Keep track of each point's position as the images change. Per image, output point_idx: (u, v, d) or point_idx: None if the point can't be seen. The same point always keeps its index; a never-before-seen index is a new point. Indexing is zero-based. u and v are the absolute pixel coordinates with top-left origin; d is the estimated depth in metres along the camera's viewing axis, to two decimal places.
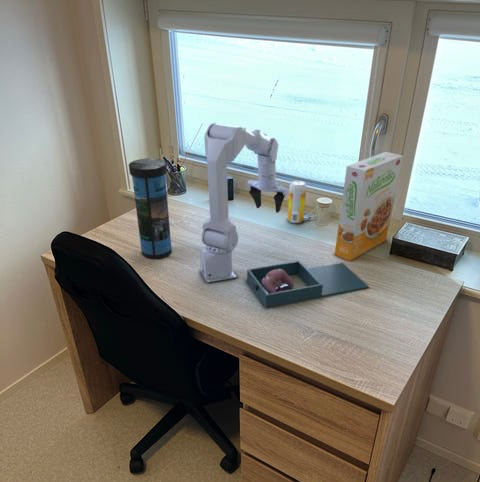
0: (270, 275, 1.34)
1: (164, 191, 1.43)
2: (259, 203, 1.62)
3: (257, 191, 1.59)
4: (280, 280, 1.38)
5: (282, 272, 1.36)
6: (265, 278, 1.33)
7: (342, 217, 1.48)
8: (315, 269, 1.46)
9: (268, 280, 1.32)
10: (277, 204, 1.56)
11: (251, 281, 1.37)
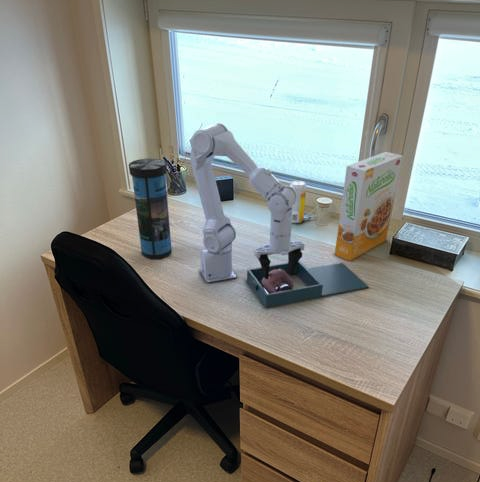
0: (270, 275, 1.34)
1: (164, 191, 1.43)
2: (289, 268, 1.34)
3: (290, 252, 1.32)
4: (280, 280, 1.38)
5: (282, 272, 1.36)
6: None
7: (342, 217, 1.48)
8: (315, 269, 1.46)
9: (268, 280, 1.32)
10: None
11: (251, 281, 1.37)
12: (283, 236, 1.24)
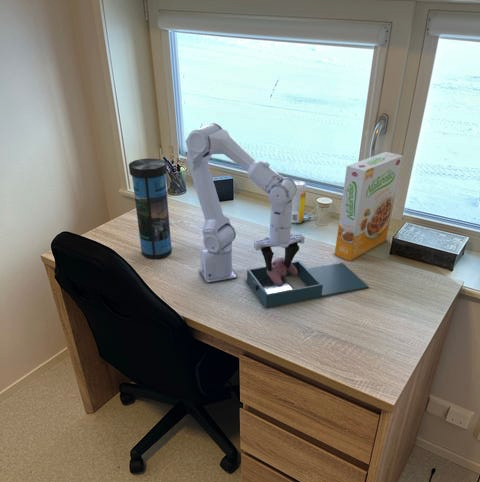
0: (275, 264, 1.33)
1: (164, 191, 1.43)
2: (286, 262, 1.33)
3: None
4: (284, 269, 1.37)
5: None
6: None
7: (342, 217, 1.48)
8: (315, 269, 1.46)
9: (273, 268, 1.32)
10: None
11: (251, 281, 1.37)
12: (283, 228, 1.23)
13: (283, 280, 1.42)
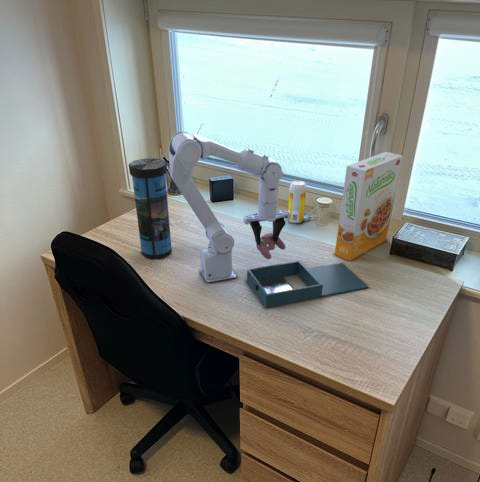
0: (264, 238, 1.44)
1: (164, 191, 1.43)
2: (274, 236, 1.44)
3: (274, 221, 1.42)
4: (273, 243, 1.48)
5: None
6: None
7: (342, 217, 1.48)
8: (315, 269, 1.46)
9: (262, 242, 1.43)
10: None
11: (251, 281, 1.37)
12: (270, 203, 1.34)
13: (283, 280, 1.42)
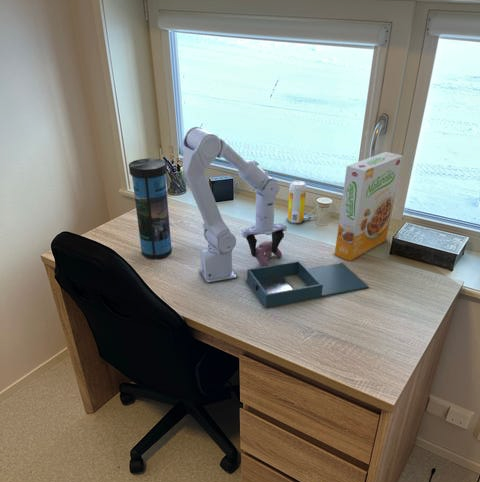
0: (261, 246, 1.49)
1: (164, 191, 1.43)
2: (273, 248, 1.50)
3: (273, 233, 1.48)
4: (270, 251, 1.53)
5: (271, 244, 1.52)
6: (257, 249, 1.48)
7: (342, 217, 1.48)
8: (315, 269, 1.46)
9: (259, 250, 1.48)
10: None
11: (251, 281, 1.37)
12: (267, 218, 1.40)
13: (283, 280, 1.42)
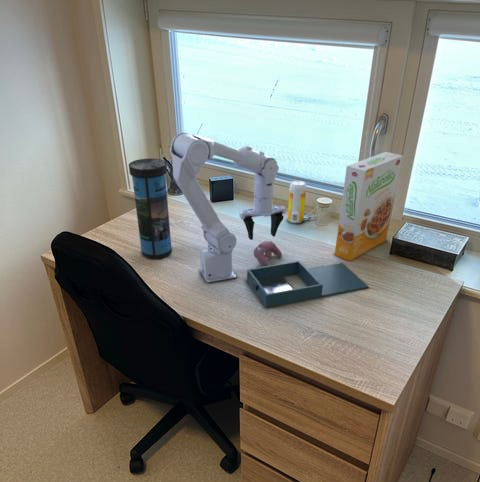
0: (261, 246, 1.49)
1: (164, 191, 1.43)
2: (272, 231, 1.47)
3: (272, 216, 1.45)
4: (270, 251, 1.53)
5: (271, 244, 1.52)
6: (256, 249, 1.48)
7: (342, 217, 1.48)
8: (315, 269, 1.46)
9: (259, 250, 1.48)
10: None
11: (251, 281, 1.37)
12: (265, 199, 1.37)
13: (283, 280, 1.42)
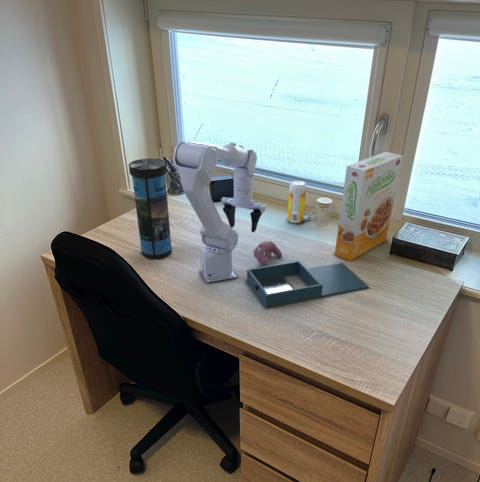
0: (261, 246, 1.49)
1: (164, 191, 1.43)
2: (233, 222, 1.50)
3: (231, 209, 1.47)
4: (270, 251, 1.53)
5: (271, 244, 1.52)
6: (256, 249, 1.48)
7: (342, 217, 1.48)
8: (315, 269, 1.46)
9: (259, 250, 1.48)
10: (253, 222, 1.44)
11: (251, 281, 1.37)
12: None
13: (283, 280, 1.42)
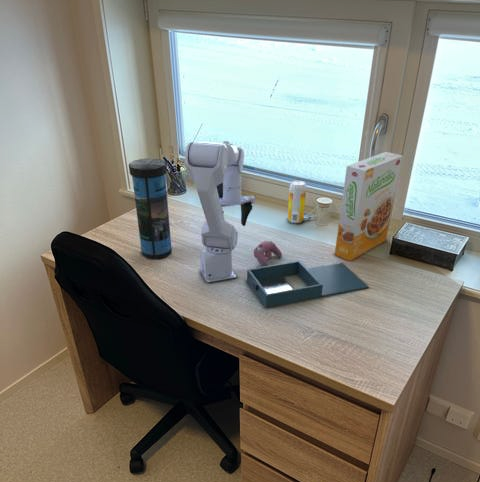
0: (261, 246, 1.49)
1: (164, 191, 1.43)
2: None
3: None
4: (270, 251, 1.53)
5: (271, 244, 1.52)
6: (256, 249, 1.48)
7: (342, 217, 1.48)
8: (315, 269, 1.46)
9: (259, 250, 1.48)
10: (247, 215, 1.49)
11: (251, 281, 1.37)
12: None
13: (283, 280, 1.42)
